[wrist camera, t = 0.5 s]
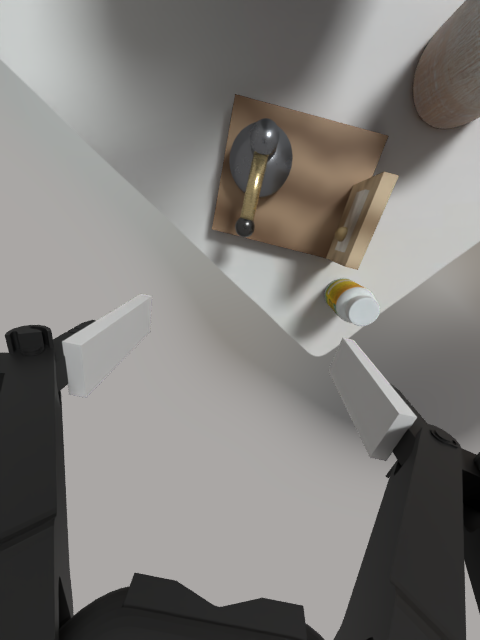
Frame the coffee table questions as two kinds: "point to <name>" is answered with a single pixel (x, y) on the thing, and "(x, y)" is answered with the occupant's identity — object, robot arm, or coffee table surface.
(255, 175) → the ball knob lever
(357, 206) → the stand
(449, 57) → the planter
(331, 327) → the coffee table surface
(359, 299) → the supplement bottle
